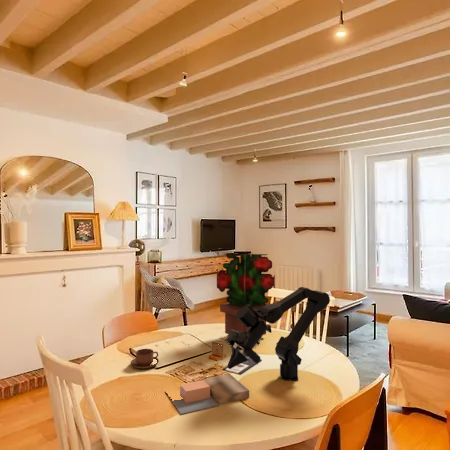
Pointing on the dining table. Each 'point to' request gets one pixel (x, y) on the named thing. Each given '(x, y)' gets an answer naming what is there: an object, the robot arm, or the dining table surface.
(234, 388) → the block
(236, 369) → the chocolate bar
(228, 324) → the potted plant
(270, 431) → the dining table surface
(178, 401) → the slate mat
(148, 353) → the cup and saucer
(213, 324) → the dining table surface
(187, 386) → the salmon pink block
